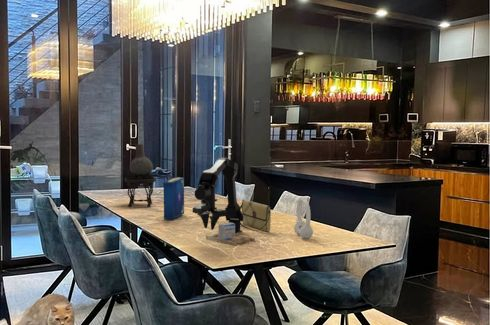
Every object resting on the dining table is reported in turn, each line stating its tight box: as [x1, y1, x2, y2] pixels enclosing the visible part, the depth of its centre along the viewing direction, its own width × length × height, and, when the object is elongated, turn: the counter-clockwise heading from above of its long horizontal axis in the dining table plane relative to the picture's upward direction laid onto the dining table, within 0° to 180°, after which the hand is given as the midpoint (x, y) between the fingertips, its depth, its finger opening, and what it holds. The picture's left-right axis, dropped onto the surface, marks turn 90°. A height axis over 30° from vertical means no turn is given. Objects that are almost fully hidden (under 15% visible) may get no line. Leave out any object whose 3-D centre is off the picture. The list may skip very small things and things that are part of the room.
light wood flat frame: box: [205, 232, 256, 247], centre depth 241 cm, size 14×21×2 cm, turn 47°
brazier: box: [124, 143, 157, 208], centre depth 349 cm, size 22×22×45 cm
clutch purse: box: [239, 199, 272, 233], centre depth 272 cm, size 30×7×15 cm, turn 32°
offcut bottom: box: [231, 240, 250, 245], centre depth 236 cm, size 7×5×2 cm
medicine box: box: [218, 222, 236, 241], centre depth 242 cm, size 8×4×9 cm, turn 137°
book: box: [162, 176, 185, 221], centre depth 303 cm, size 22×7×25 cm, turn 168°
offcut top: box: [231, 234, 250, 243], centre depth 236 cm, size 7×5×2 cm
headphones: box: [293, 198, 314, 240], centre depth 252 cm, size 7×18×20 cm, turn 9°
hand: (209, 228), depth 232 cm, fingers open, 4 cm apart
